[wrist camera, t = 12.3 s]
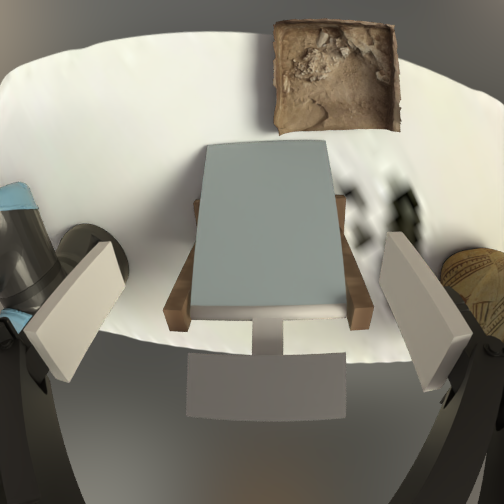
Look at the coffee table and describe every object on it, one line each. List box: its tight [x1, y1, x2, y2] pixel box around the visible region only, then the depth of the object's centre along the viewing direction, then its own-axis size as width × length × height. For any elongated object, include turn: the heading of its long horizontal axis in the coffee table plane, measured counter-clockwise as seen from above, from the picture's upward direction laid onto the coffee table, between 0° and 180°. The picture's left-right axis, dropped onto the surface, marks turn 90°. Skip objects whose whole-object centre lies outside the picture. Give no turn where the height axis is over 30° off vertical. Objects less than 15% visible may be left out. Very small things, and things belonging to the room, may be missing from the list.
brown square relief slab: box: [273, 18, 402, 136], centre depth 30 cm, size 17×4×15 cm
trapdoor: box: [186, 141, 347, 421], centre depth 32 cm, size 16×33×7 cm
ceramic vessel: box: [440, 248, 504, 343], centre depth 34 cm, size 19×21×30 cm
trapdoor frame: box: [163, 195, 374, 332], centre depth 37 cm, size 22×12×20 cm, turn 94°
